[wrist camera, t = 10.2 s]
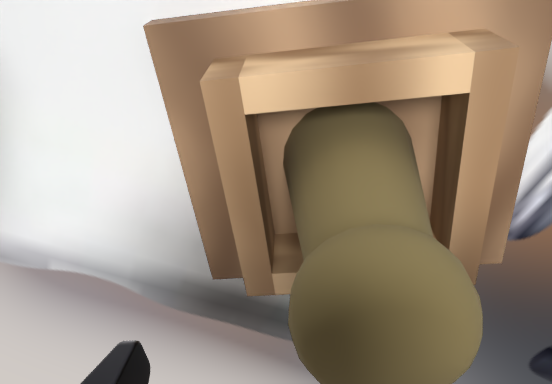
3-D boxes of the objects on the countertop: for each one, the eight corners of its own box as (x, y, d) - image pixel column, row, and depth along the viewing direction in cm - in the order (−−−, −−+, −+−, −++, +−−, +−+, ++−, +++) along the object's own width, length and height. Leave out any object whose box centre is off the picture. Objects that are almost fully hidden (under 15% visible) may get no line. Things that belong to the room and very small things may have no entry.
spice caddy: (216, 265, 25) (202, 320, 22) (152, 20, 18) (115, 43, 14) (492, 248, 23) (527, 305, 20) (549, -30, 16) (620, -18, 12)
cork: (360, 230, 22) (408, 456, 12) (259, 178, 20) (228, 389, 11) (441, 140, 19) (582, 347, 9) (330, 71, 17) (367, 235, 8)
